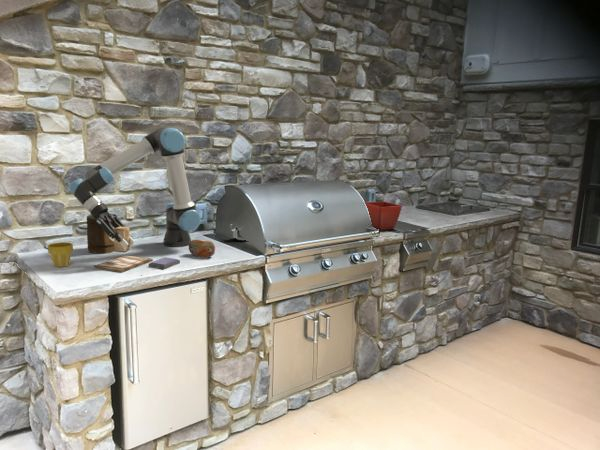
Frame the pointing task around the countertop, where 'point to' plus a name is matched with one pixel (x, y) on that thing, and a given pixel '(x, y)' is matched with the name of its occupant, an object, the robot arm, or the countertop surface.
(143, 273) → the countertop surface
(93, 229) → the wooden container
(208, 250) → the brown oval lump
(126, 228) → the wooden block
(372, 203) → the plant pot
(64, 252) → the plant pot
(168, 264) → the pad
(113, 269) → the print board
